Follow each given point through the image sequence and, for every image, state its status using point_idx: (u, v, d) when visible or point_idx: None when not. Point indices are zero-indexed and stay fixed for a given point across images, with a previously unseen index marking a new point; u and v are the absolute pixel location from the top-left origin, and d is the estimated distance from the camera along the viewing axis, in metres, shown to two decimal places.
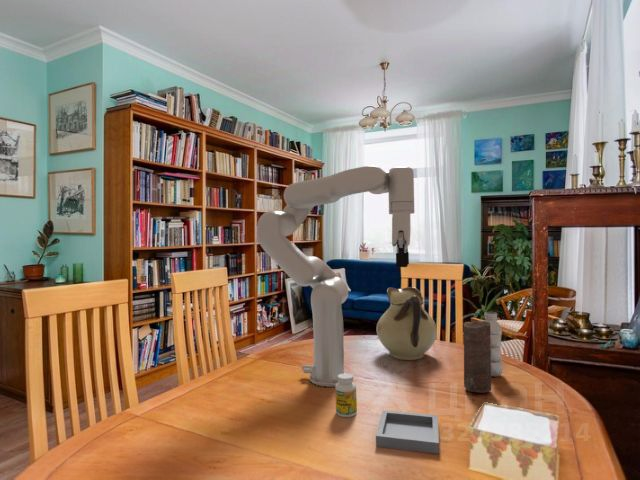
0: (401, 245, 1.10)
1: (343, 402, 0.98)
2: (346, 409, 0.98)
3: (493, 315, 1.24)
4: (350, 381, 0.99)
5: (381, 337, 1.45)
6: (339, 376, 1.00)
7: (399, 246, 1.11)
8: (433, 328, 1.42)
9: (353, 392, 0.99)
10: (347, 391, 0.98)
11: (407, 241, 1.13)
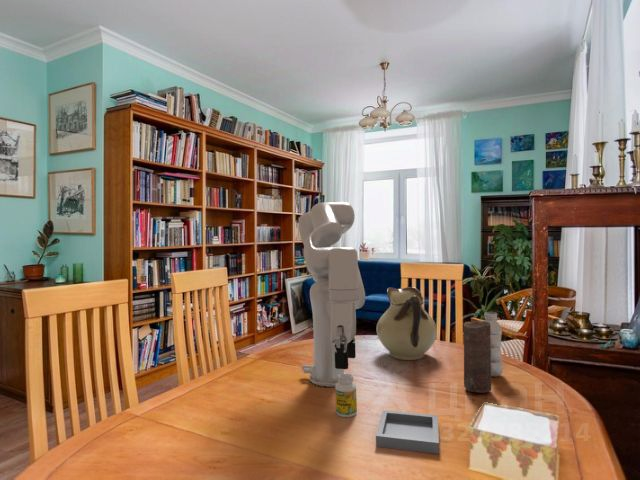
0: (339, 345, 0.93)
1: (343, 402, 0.98)
2: (346, 409, 0.98)
3: (493, 315, 1.24)
4: (350, 381, 0.99)
5: (381, 337, 1.45)
6: (339, 376, 1.00)
7: (336, 346, 0.93)
8: (433, 328, 1.42)
9: (353, 392, 0.99)
10: (346, 391, 0.98)
11: (347, 338, 0.95)
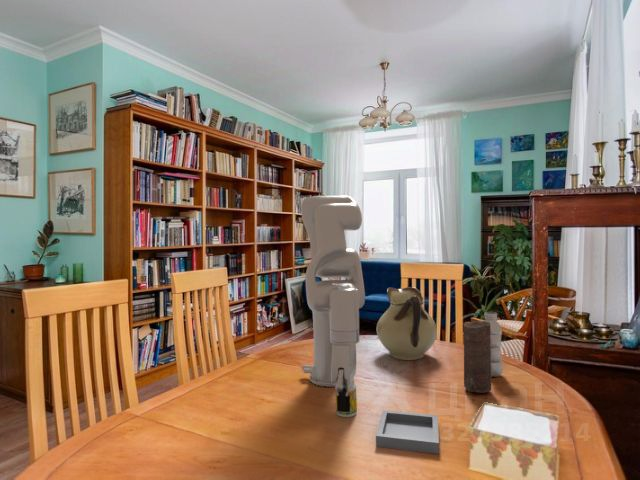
0: None
1: None
2: None
3: (493, 315, 1.24)
4: None
5: (381, 337, 1.45)
6: None
7: (339, 392, 0.95)
8: (433, 328, 1.42)
9: (353, 392, 0.99)
10: None
11: (348, 380, 0.96)
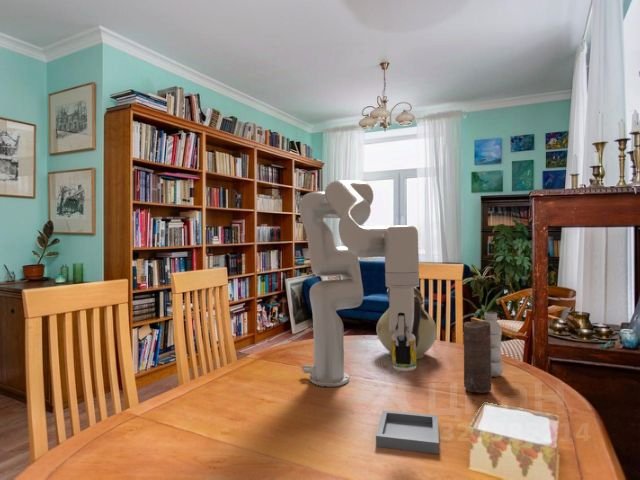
0: None
1: None
2: None
3: (493, 315, 1.24)
4: None
5: (381, 337, 1.45)
6: None
7: (399, 340, 0.84)
8: (433, 328, 1.42)
9: (413, 342, 0.87)
10: None
11: (409, 327, 0.84)
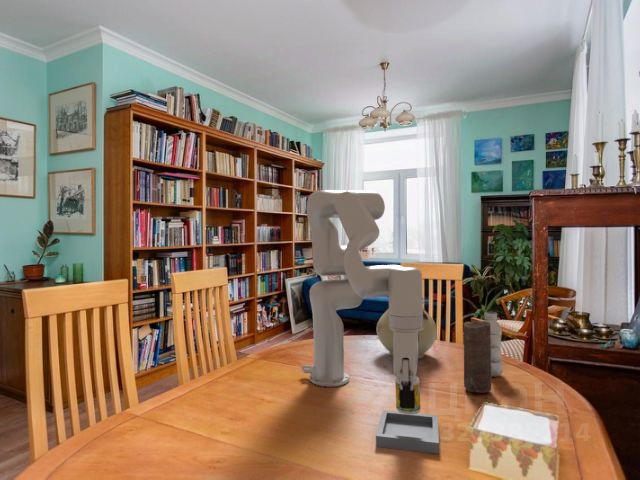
0: None
1: None
2: None
3: (493, 315, 1.24)
4: None
5: (381, 337, 1.45)
6: None
7: (404, 385, 0.83)
8: (433, 328, 1.42)
9: (418, 385, 0.87)
10: None
11: (414, 372, 0.84)
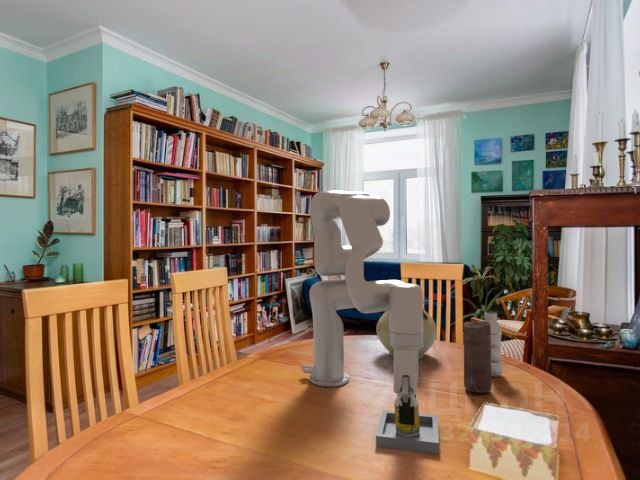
0: (406, 400, 0.81)
1: None
2: (409, 428, 0.86)
3: (493, 315, 1.24)
4: None
5: (381, 337, 1.45)
6: None
7: (403, 401, 0.82)
8: (433, 328, 1.42)
9: (416, 408, 0.87)
10: None
11: (414, 390, 0.84)
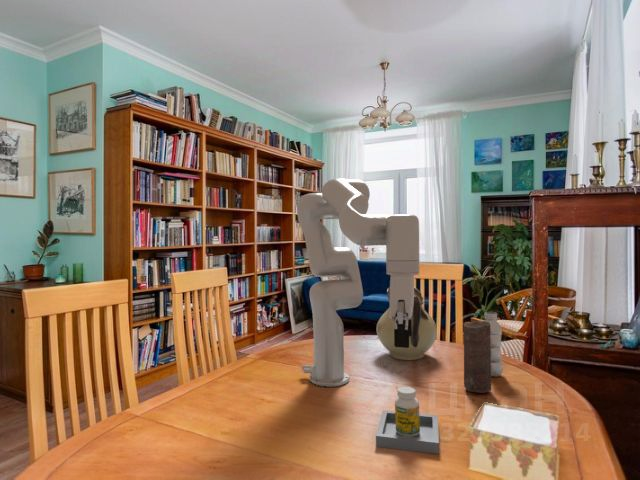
0: (401, 321, 0.84)
1: (406, 421, 0.87)
2: (409, 428, 0.86)
3: (493, 315, 1.24)
4: (413, 396, 0.87)
5: (381, 337, 1.45)
6: (399, 390, 0.89)
7: (398, 322, 0.84)
8: (433, 328, 1.42)
9: (417, 408, 0.87)
10: (409, 408, 0.86)
11: (409, 314, 0.86)
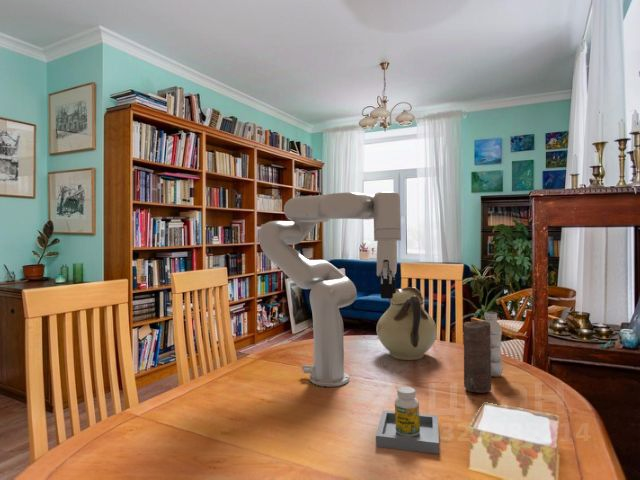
0: (385, 276, 1.04)
1: (405, 420, 0.87)
2: (409, 428, 0.86)
3: (493, 315, 1.24)
4: (413, 396, 0.88)
5: (381, 337, 1.45)
6: (399, 390, 0.89)
7: (383, 277, 1.04)
8: (433, 328, 1.42)
9: (417, 408, 0.87)
10: (409, 408, 0.86)
11: (392, 271, 1.07)
